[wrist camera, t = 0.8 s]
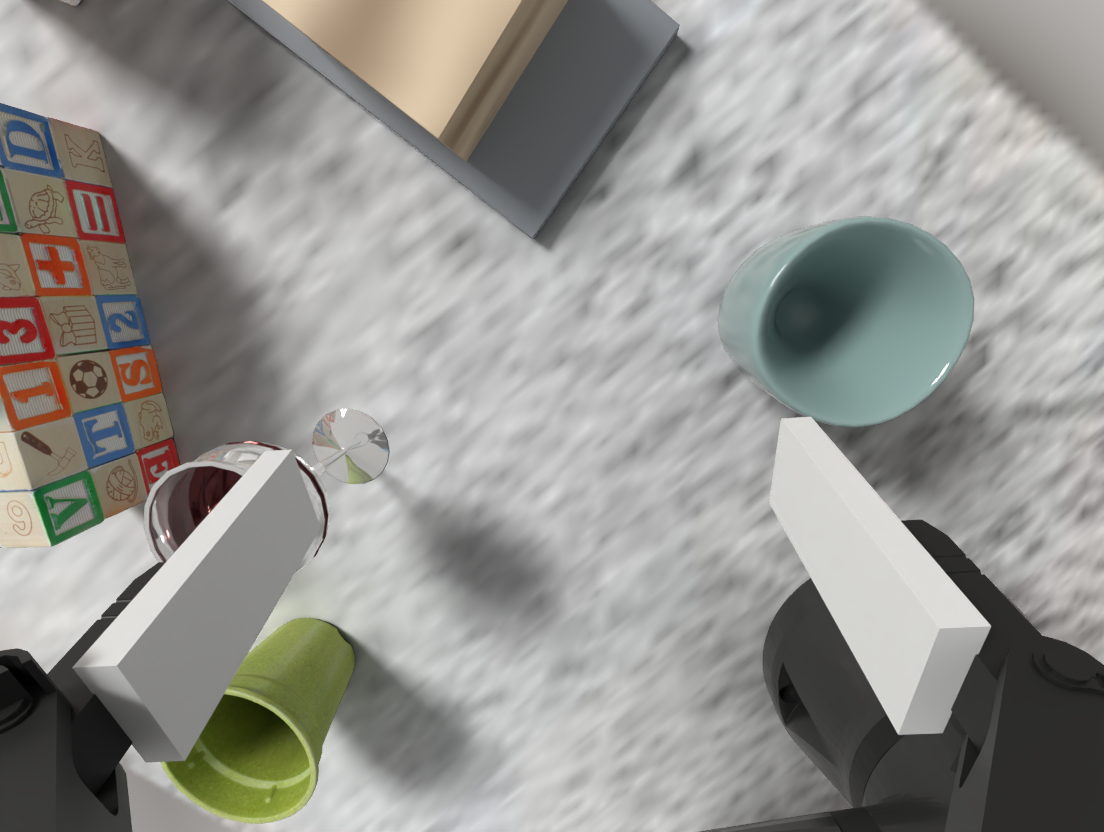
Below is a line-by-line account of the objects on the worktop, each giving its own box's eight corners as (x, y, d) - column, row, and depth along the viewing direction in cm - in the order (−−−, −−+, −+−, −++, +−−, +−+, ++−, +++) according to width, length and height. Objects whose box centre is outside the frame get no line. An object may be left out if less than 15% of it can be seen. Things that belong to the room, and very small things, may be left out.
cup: (677, 336, 30) (712, 365, 21) (759, 207, 28) (840, 172, 19) (794, 404, 31) (881, 464, 21) (883, 282, 29) (1025, 287, 19)
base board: (676, 34, 27) (679, 25, 26) (534, 239, 30) (531, 238, 29) (341, -249, 25) (331, -270, 24) (227, -1, 28) (214, -11, 27)
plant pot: (376, 718, 39) (314, 839, 31) (253, 696, 40) (159, 808, 31) (382, 608, 37) (316, 706, 28) (250, 585, 37) (148, 675, 29)
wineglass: (277, 429, 34) (109, 509, 22) (359, 374, 33) (225, 428, 21) (341, 514, 35) (214, 632, 24) (423, 465, 34) (329, 564, 22)
